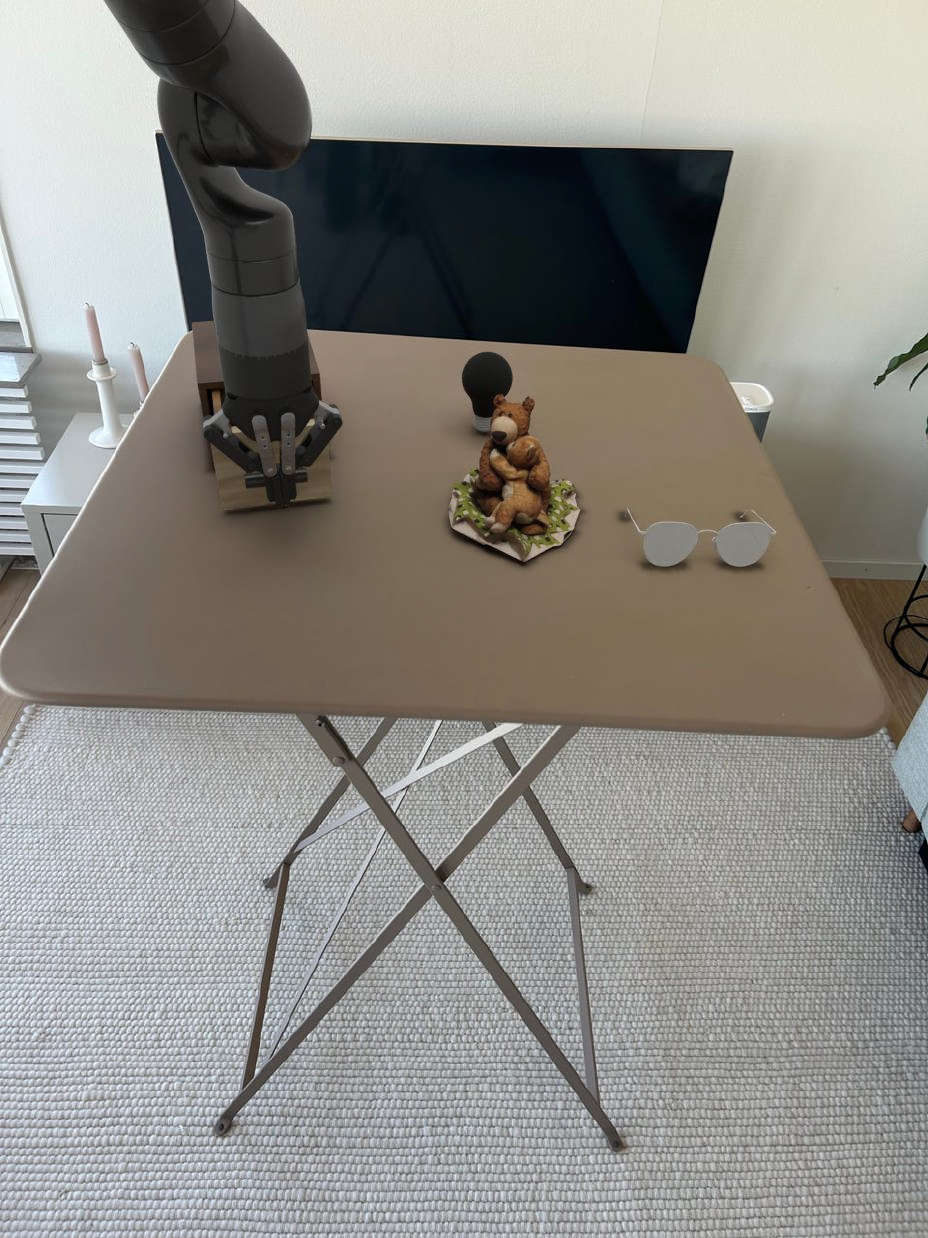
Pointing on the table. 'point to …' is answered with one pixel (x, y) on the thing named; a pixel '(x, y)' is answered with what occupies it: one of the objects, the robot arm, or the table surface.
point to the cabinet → (212, 371)
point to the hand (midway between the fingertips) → (282, 501)
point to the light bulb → (486, 385)
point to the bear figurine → (513, 490)
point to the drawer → (251, 487)
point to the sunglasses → (732, 542)
